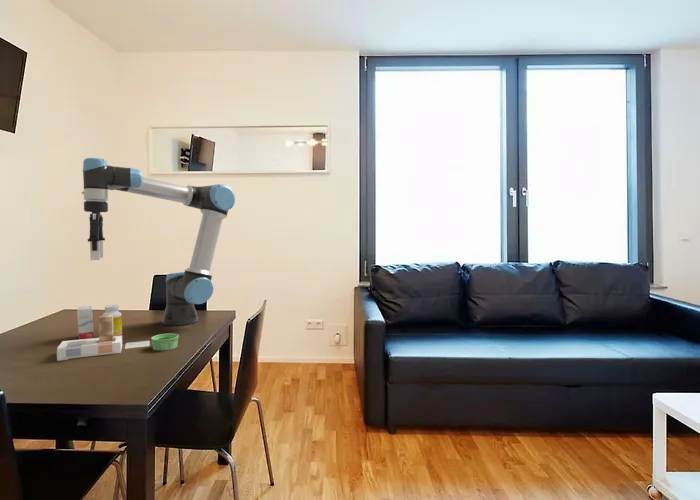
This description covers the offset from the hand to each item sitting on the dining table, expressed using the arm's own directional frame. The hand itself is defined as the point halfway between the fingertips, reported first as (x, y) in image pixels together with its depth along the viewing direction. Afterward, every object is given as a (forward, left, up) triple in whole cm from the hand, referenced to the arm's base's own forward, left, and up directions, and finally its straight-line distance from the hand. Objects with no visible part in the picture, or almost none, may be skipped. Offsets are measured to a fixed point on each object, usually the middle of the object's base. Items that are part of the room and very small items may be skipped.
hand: (97, 258), depth 152 cm
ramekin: (-22, +17, -32) cm, 42 cm away
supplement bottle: (-4, -6, -32) cm, 33 cm away
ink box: (+6, -12, -32) cm, 35 cm away
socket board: (+1, +13, -32) cm, 34 cm away
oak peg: (-3, +13, -31) cm, 34 cm away
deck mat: (-13, +9, -32) cm, 35 cm away
